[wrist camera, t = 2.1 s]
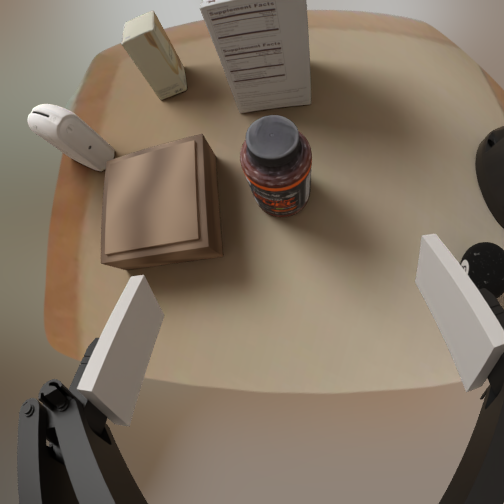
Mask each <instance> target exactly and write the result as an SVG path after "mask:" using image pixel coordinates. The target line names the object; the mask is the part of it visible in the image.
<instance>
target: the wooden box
mask: <svg viewBox="0 0 504 504" xmlns="http://www.w3.org/2000/svg"><path fill="white" fill-rule="evenodd" d="M216 257H223V247H222V235H221V223H220V211H219V198H218V184H217V169H216V156H215V154H214V152H213V151H212V149H211V147H210V146H209V144H208V142H207V141H206V139H205V137H204V136H203V134H199V135H195V136H191V137H187V138H183V139H179V140H175V141H172V142H168V143H164V144H161V145H157V146H154V147H150V148H147V149H143V150H140V151H137V152H134V153H131V154H127V155H124V156H121V157H118V158H115V159H112V160H109V161H107V162H106V171H105V181H104V192H103V207H102V227H101V264H105V265H109V266H112V267H116V268H120V269H124V270H130V269H138V268H145V267H152V266H159V265H166V264H173V263H180V262H188V261H195V260H202V259H209V258H216Z"/></svg>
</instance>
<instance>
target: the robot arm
mask: <svg viewBox="0 0 504 504" xmlns="http://www.w3.org/2000/svg"><path fill="white" fill-rule="evenodd" d="M476 173H477V179H478V183H479V186H480V189H481V192H482V195H483V197H484V199H485V201H486V203H487V205H488V207H489V209H490V211H491V212H492V214H493V215H494V217H495V218H496V220H497V221H498V222H499V223H500V225H501V226H502V227H503V228H504V126H502V127H500V128H497V129H495V130H493V131H492V132H490V133H489V134H488V135H487V136H486V137H485V139H484V140H483V141H482V142H481V143H480V145H479V147H478V150H477V154H476ZM415 283H416V285H417V287H418V289H419V290H420V292H421V294H422V296H423V298H424V300H425V302H426V304H427V306H428V308H429V309H430V311H431V313H432V315H433V317H434V319H435V321H436V324H437V326H438V328H439V330H440V332H441V334H442V336H443V338H444V340H445V343H446V345H447V347H448V349H449V351H450V354H451V356H452V358H453V361H454V363H455V365H456V368H457V370H458V372H459V375H460V377H461V380H462V382H463V385H464V387H465V390H466V392H468V391H471V390H473V389H476V388H478V387H481V386H482V385H483V383H484V382H485V381H486V379H487V378H488V380H489V383H490V385H489V387H488V388H487V389H486V391H485V392H484V393H483V395H482V396H481V398H480V399H483V398H484V397H485V399H484V402H483V405H482V408H481V411H480V414H479V417H478V420H477V423H476V426H475V428H474V431H473V434H472V436H471V439H470V441H469V444H468V446H467V448H466V451H465V453H464V456H463V458H462V460H461V462H460V464H459V466H458V468H457V470H456V473H455V474H454V476H453V478H452V481H451V482H450V485H449V486H448V488H447V490H446V492H445V494H444V495H443V497H442V499H441V501H440V502H439V504H503V503H504V309H503V308H502V306H500V303H499V302H498V300H497V299H496V297H495V296H494V295H493V294H492V293H491V292H489V291H488V290H487V289H486V288H482V289H479V290H478V289H477V288H476V286H475V285H474V283H473V282H472V280H471V279H470V278H469V276H468V275H467V273H466V272H465V271H464V269H463V268H462V267H461V265H460V264H459V263H458V261H457V260H456V259H455V257H454V256H453V255H452V253H451V252H450V251H449V250H448V248H447V247H446V246H445V245H444V243H443V242H442V241H441V240H440V238H439V237H438V236H437V235H436V234H428V235H422V238H421V246H420V253H419V261H418V267H417V273H416V279H415ZM163 318H164V313H163V311H162V309H161V308H160V306H159V304H158V302H157V300H156V298H155V296H154V294H153V292H152V290H151V288H150V286H149V284H148V282H147V280H146V277H145V275H138V276H131V278H130V280H129V281H128V283H127V285H126V287H125V289H124V291H123V293H122V294H121V296H120V298H119V300H118V302H117V304H116V306H115V308H114V310H113V312H112V314H111V316H110V318H109V320H108V322H107V324H106V326H105V328H104V330H103V332H102V334H101V336H100V338H95V339H94V341H93V342H92V343H91V344H90V345H89V346H88V348H87V350H86V353H85V355H84V357H83V359H82V361H81V365H79V368H78V370H77V372H76V374H75V376H74V379H73V381H72V383H71V385H70V388H69V390H68V389H67V388H66V387H65V386H64V385H63V384H62V383H61V382H60V381H58V380H55V379H53V380H50V381H48V382H47V383H45V384H44V385H43V387H42V388H41V390H40V393H39V400H40V401H41V402H42V403H43V404H41V403H40V402H39V401H38V400H36V399H34V398H30V399H28V400H26V401H25V402H24V403H23V405H22V406H21V409H20V413H19V426H18V448H17V449H18V451H17V454H18V455H17V465H18V466H17V469H18V470H17V471H18V491H19V504H148V503H147V501H146V500H145V498H144V496H143V495H142V493H141V491H140V489H139V488H138V486H137V484H136V482H135V480H134V479H133V477H132V475H131V473H130V471H129V469H128V467H127V465H126V463H125V461H124V459H123V457H122V455H121V453H120V451H119V448H118V447H117V444H116V443H115V440H114V438H113V435H112V433H111V431H110V428H109V427H108V425H107V424H106V420H107V418H108V419H109V420H111V421H112V422H113V423H114V424H118V425H124V426H130V422H131V419H132V416H133V412H134V409H135V405H136V402H137V398H138V395H139V392H140V388H141V385H142V381H143V379H144V375H145V372H146V369H147V366H148V363H149V360H150V357H151V354H152V350H153V347H154V344H155V341H156V338H157V335H158V333H159V330H160V327H161V324H162V321H163ZM485 395H486V396H485ZM46 440H48V441H49V442H50V444H49V447H48V446H46Z"/></svg>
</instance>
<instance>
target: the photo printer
mask: <svg viewBox="0 0 504 504" xmlns="http://www.w3.org/2000/svg"><path fill="white" fill-rule="evenodd" d="M28 125H29V127H30V129H31V130H32V131H33V132H34V133H36V134H37V135H39V136H40V137H42V138H43V139H44V140H46V141H47V142H49V143H50V144H52V145H53V146H55V147H56V148H57V149H59V150H60V151H61V152H63V153H64V154H66V155H67V156H68V157H70V158H72V159H73V160H75V161H77V162H79V163H81V164H83V165H85V166H87V167H90V168H92V169H94V170H97V171H103V170H104V169H106V162H107V161H109V160H112V159H114V151H115V150H114V148H113V147H112V146H111V145H110V144H108V143H107V142H106V141H105V140H104V139H103V138H102V137H101V136H100V135H98V134H97V133H96V132H95V131H94V130H93V129H92V128H91V127H89V126H88V125H87V124H86V123H85V122H84V121H83V120H81V119H80V118H79V117H78V116H77V115H76V114H74V113H73V112H71V111H70V110H67V109H65V108H62V107H60V106H56V105H51V104H41V105H38V106H36V107H34V108H33V110H32V112H31V113H30V114H29V115H28Z"/></svg>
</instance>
